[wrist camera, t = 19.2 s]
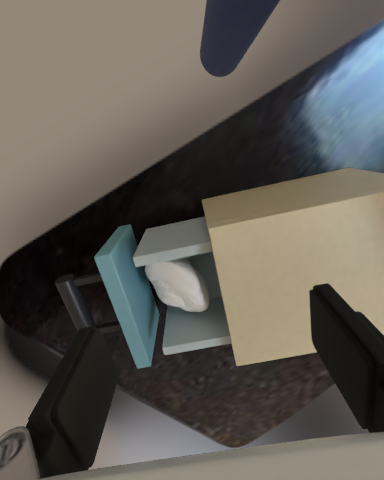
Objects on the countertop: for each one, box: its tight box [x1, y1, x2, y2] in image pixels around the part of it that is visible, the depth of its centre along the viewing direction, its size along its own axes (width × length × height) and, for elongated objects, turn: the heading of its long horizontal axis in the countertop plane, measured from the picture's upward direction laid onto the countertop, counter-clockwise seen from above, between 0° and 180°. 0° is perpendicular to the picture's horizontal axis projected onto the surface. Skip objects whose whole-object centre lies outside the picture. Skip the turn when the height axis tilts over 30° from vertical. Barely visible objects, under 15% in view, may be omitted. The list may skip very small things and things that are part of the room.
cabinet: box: [202, 168, 384, 366], centre depth 22 cm, size 14×12×9 cm
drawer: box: [55, 217, 231, 368], centre depth 22 cm, size 17×10×7 cm, turn 102°
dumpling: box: [138, 257, 209, 312], centre depth 22 cm, size 7×5×4 cm
